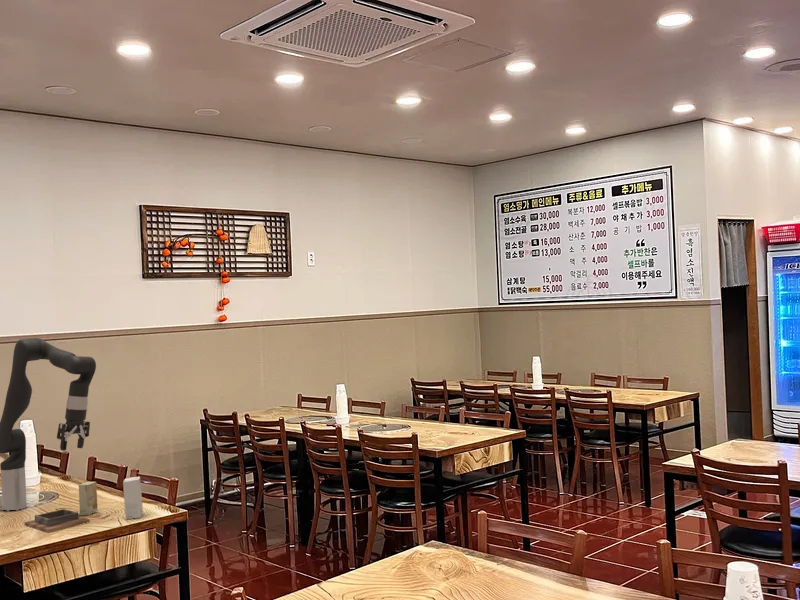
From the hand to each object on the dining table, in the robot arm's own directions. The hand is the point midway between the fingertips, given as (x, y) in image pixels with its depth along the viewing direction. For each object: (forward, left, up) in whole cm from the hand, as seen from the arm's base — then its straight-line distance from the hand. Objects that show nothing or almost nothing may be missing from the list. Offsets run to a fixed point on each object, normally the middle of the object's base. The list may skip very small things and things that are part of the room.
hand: (71, 449), depth 307 cm
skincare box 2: (+16, +16, -28) cm, 36 cm away
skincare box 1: (-6, +9, -28) cm, 30 cm away
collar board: (-2, -6, -28) cm, 29 cm away
